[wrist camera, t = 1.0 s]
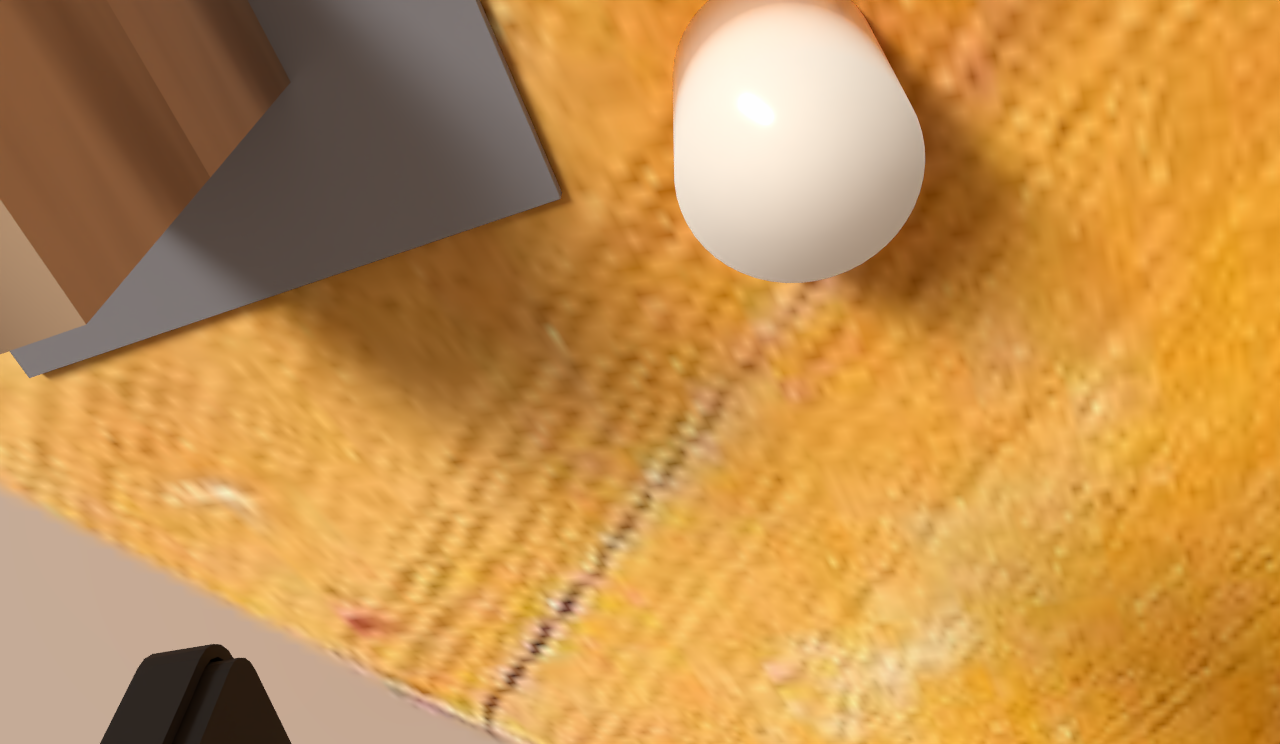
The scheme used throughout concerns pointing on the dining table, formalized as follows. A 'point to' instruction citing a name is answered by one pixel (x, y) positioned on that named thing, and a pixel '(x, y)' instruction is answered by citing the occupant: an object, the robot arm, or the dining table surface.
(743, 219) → the ceramic cylinder
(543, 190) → the mat
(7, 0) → the tower top
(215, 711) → the robot arm
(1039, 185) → the dining table surface
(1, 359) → the dining table surface
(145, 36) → the block
